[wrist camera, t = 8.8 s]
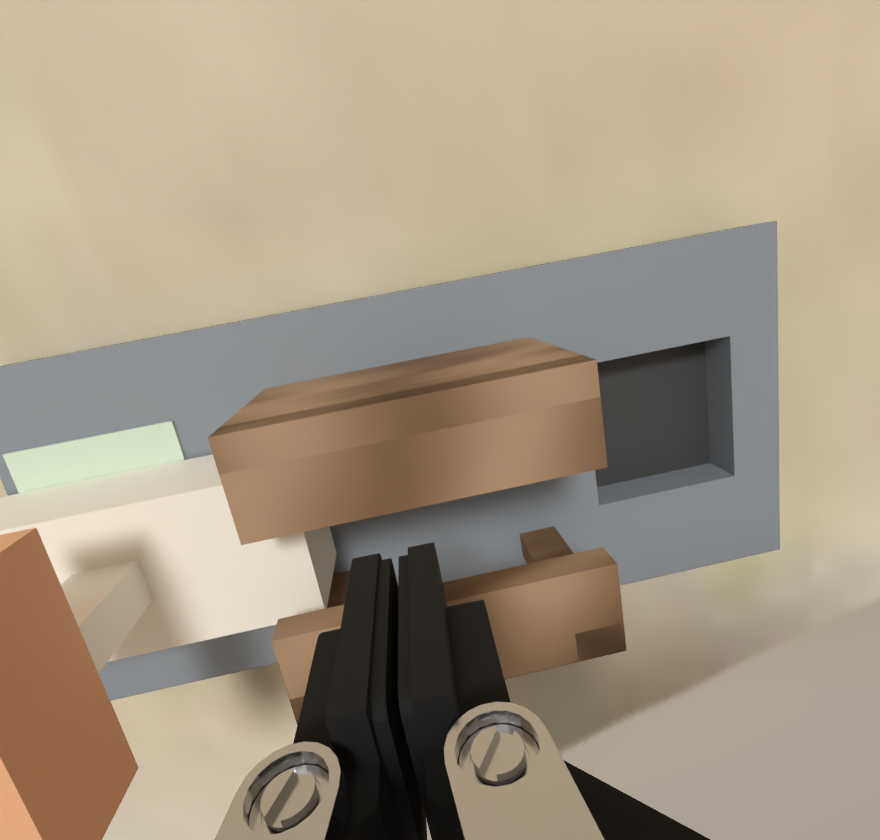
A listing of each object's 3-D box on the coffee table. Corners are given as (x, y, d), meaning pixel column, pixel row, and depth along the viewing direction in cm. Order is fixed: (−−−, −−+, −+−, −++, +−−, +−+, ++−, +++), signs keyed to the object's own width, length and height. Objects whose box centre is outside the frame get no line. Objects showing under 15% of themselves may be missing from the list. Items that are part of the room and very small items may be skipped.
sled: (299, 410, 19) (205, 545, 9) (342, 575, 21) (304, 840, 11) (-35, 476, 19) (-537, 703, 8) (39, 640, 20) (-301, 989, 10)
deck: (741, 226, 22) (779, 220, 19) (749, 529, 25) (782, 551, 23) (-3, 366, 20) (-48, 375, 18) (121, 669, 23) (96, 706, 21)
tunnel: (528, 337, 20) (596, 359, 13) (557, 547, 22) (626, 650, 16) (265, 388, 19) (207, 437, 13) (322, 598, 21) (298, 727, 15)
